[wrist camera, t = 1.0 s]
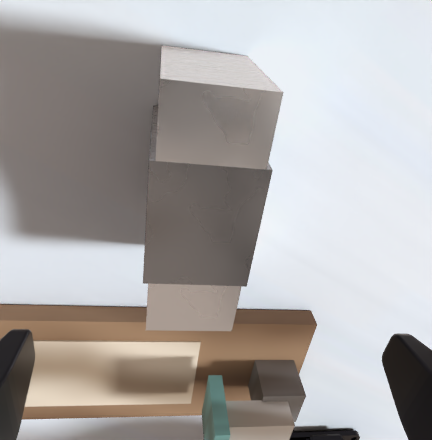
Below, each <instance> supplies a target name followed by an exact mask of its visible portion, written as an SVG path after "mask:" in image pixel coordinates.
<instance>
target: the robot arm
mask: <svg viewBox="0 0 432 440" xmlns="http://www.w3.org/2000/svg"><path fill="white" fill-rule="evenodd" d="M34 363H35V349H34V342H33V335H32V332H31V330H29V329H13V330H10V331H9V332H8V333H7V334H6V335H5V336H4V337H2V338H1V339H0V440H16V438H17V435H18V432H19V428H20V424H21V420H22V416H23V412H24V407H25V403H26V399H27V394H28V390H29V385H30V381H31V377H32V372H33V368H34ZM382 363H383V367H384V370H385V373H386V376H387V379H388V383H389V386H390V389H391V392H392V395H393V399H394V402H395V405H396V408H397V411H398V414H399V417H400V420H401V422H402V425H403V428H404V430H405V432H406V435H407V437H408V440H432V350H431V349H429V348H428V347H427V346H425V345H424V344H423V343H421V342H420V341H419V340H417V339H416V338H415V337H413V336H412V335H410V334H394V335H393V336H392V337H391V339H390V341H389V343H388V345H387V346H386V348H385V350H384V352H383V355H382ZM359 438H360V437H359V434H358V432H357V431H326V432H294V433H292V434H291V436H290V439H289V440H359Z"/></svg>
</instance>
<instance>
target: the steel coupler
mask: <svg viewBox="0 0 432 440" xmlns="http://www.w3.org/2000/svg"><path fill="white" fill-rule="evenodd" d="M282 96H283V92H282V91H281V90H280V89H279V87H278V86H277V85H276V84H275V83H274V82H273V81H272V80H271V79H270V78H269V77H268V76H267V75H266V74H265V73H264V72H263V71H262V70H261V69H260V68H259V67H258V66H257V65H256V64H255V63H254V62H253V61H252V60H251V59H250V58H249V57H248V56H243V55H235V54H227V53H219V52H211V51H203V50H195V49H187V48H179V47H171V46H163V45H162V50H161V67H160V85H159V102H158V106H154V108H153V120H152V131H151V143H150V155H149V171H148V192H147V212H146V233H145V253H144V274H143V283H148V297H147V316H146V330H162V331H232V328H233V323H234V319H235V314H236V309H237V305H238V300H239V295H240V291H241V286H247V282H248V277H249V273H250V268H251V264H252V259H253V255H254V250H255V246H256V241H257V237H258V232H259V228H260V224H261V219H262V215H263V210H264V206H265V201H266V197H267V192H268V188H269V183H270V179H271V174H272V168H271V167H270V165H269V163H268V161H269V156H270V151H271V147H272V142H273V137H274V133H275V128H276V123H277V119H278V114H279V110H280V105H281V100H282Z"/></svg>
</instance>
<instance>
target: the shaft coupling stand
mask: <svg viewBox="0 0 432 440" xmlns="http://www.w3.org/2000/svg"><path fill="white" fill-rule="evenodd" d="M146 316H147V307H101V306H50V305H0V339H1V338H2V337H4V336H5V335H6V334H7V333H8V332H9V331H10V330H13V329H29V330H31V332H32V335H33V342H34V349H35V363H34V368H33V372H32V377H31V381H30V385H29V390H28V394H27V399H26V403H25V407H24V412H23V416H22V419H59V418H102V417H144V416H187V415H202V422H203V434H204V440H289V439H290V436H291V434H292V431H293V429H294V426H295V425H294V422H296V419H297V417H298V414H299V412H300V409H301V407H302V404H303V402H304V399H305V397H306V395H305V392H304V389H303V386H302V383H301V380H300V377H299V373H300V370H301V367H302V364H303V362H304V359H305V356H306V353H307V351H308V348H309V345H310V343H311V340H312V337H313V334H314V332H315V329H316V326H317V324H316V321H315V319H314V317H313V314H312V312H311V311H301V310H251V309H236V314H235V319H234V323H233V328H232V331H162V330H146Z"/></svg>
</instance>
